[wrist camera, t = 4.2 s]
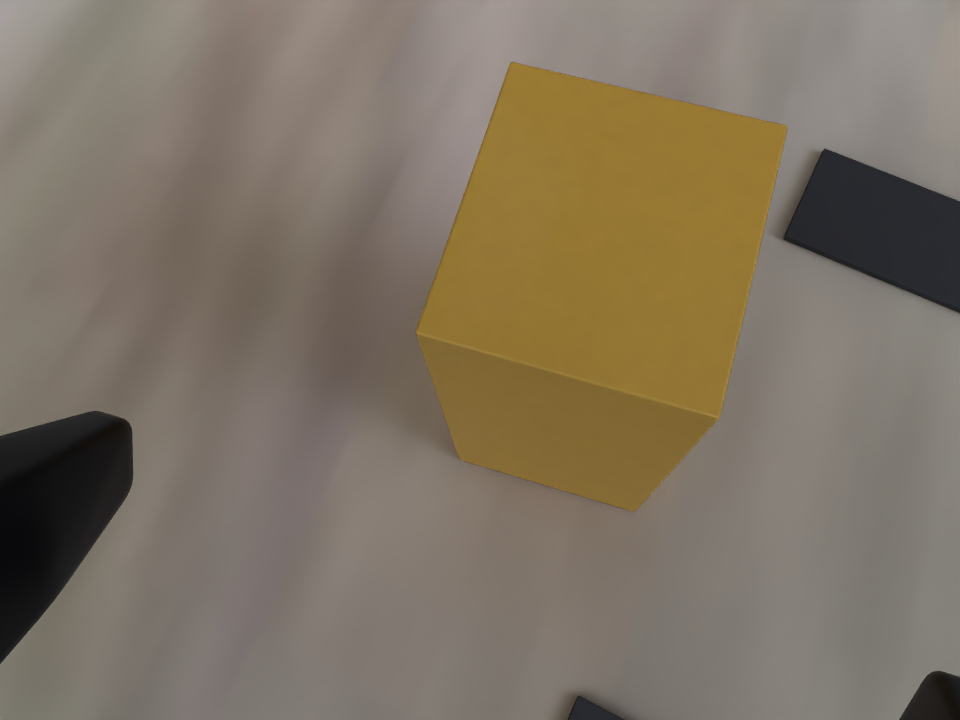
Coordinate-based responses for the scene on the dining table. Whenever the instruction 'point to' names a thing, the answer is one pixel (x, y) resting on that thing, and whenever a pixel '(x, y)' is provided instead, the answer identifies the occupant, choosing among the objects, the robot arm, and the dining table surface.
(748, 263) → the mustard block
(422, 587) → the dining table surface
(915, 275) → the bay mat
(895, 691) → the dining table surface
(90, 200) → the dining table surface
